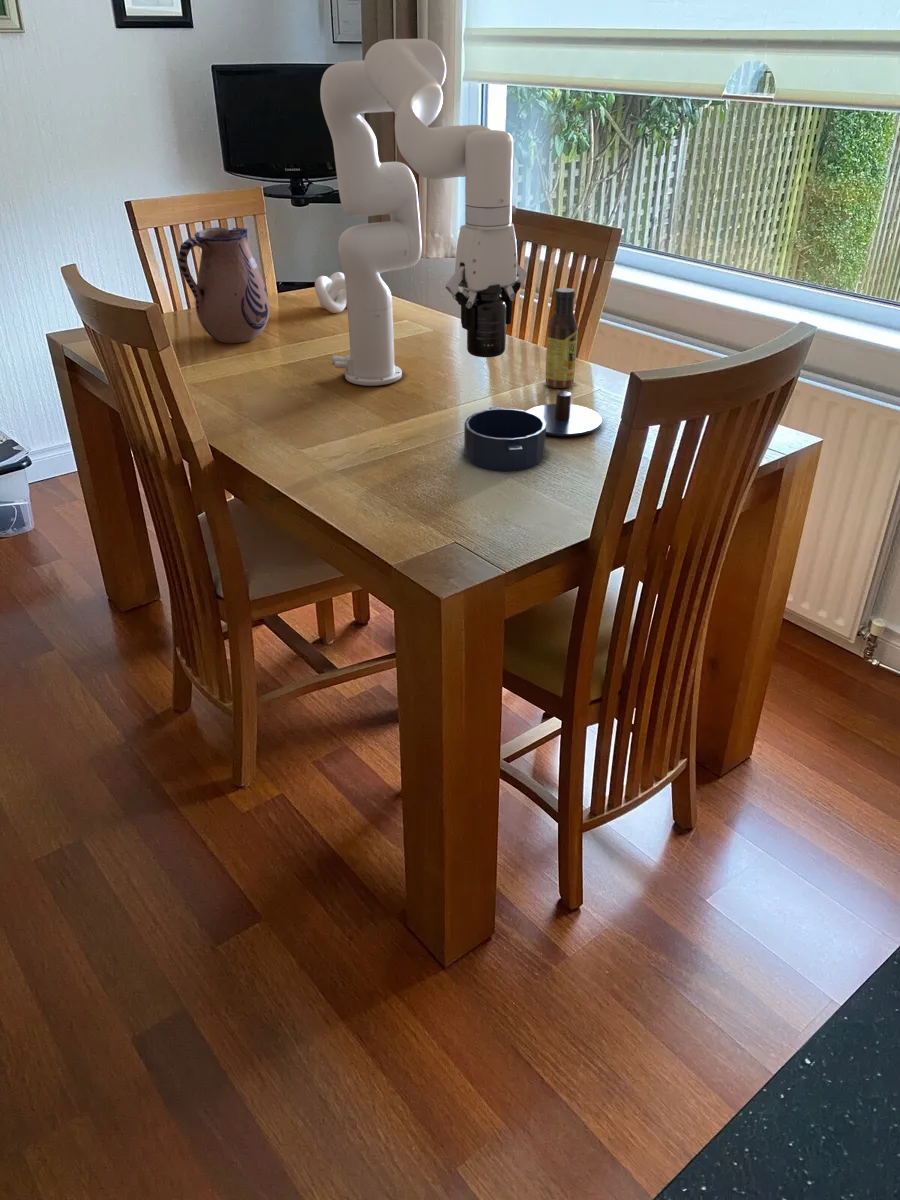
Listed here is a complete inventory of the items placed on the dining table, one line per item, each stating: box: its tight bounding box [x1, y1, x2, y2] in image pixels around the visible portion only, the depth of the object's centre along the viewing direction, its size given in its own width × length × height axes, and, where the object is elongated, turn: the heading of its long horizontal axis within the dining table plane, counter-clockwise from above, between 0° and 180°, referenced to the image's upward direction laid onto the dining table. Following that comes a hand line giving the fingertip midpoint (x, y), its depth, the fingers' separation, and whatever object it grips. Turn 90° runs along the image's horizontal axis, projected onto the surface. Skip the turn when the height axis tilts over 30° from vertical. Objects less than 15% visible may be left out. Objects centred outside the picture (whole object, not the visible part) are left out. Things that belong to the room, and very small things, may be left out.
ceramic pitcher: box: [178, 226, 271, 344], centre depth 214 cm, size 18×21×25 cm
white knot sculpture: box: [314, 271, 347, 314], centre depth 240 cm, size 11×12×9 cm
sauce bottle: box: [545, 287, 579, 389], centre depth 188 cm, size 7×6×20 cm
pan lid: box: [527, 390, 603, 437], centre depth 173 cm, size 15×15×6 cm
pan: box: [463, 406, 547, 472], centre depth 161 cm, size 14×20×6 cm
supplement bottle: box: [466, 284, 507, 358], centre depth 155 cm, size 7×7×12 cm
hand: (486, 325), depth 155 cm, fingers closed on supplement bottle, 6 cm apart
